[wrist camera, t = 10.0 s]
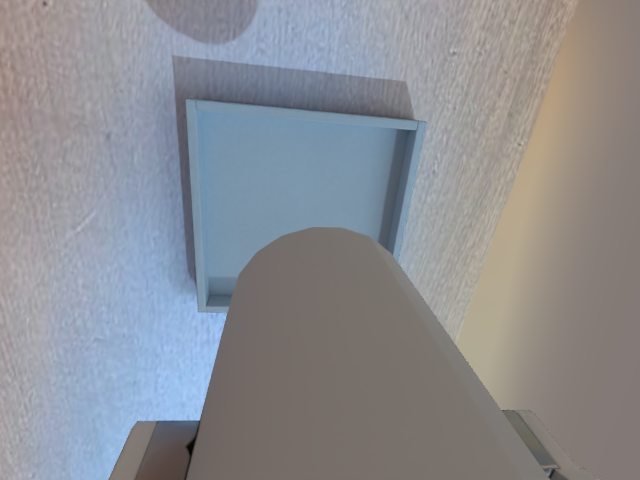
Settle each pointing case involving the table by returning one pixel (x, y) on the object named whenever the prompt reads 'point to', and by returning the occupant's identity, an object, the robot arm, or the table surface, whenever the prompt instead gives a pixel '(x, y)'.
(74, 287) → the table surface
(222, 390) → the can
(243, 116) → the tray
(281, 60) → the table surface
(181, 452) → the robot arm
